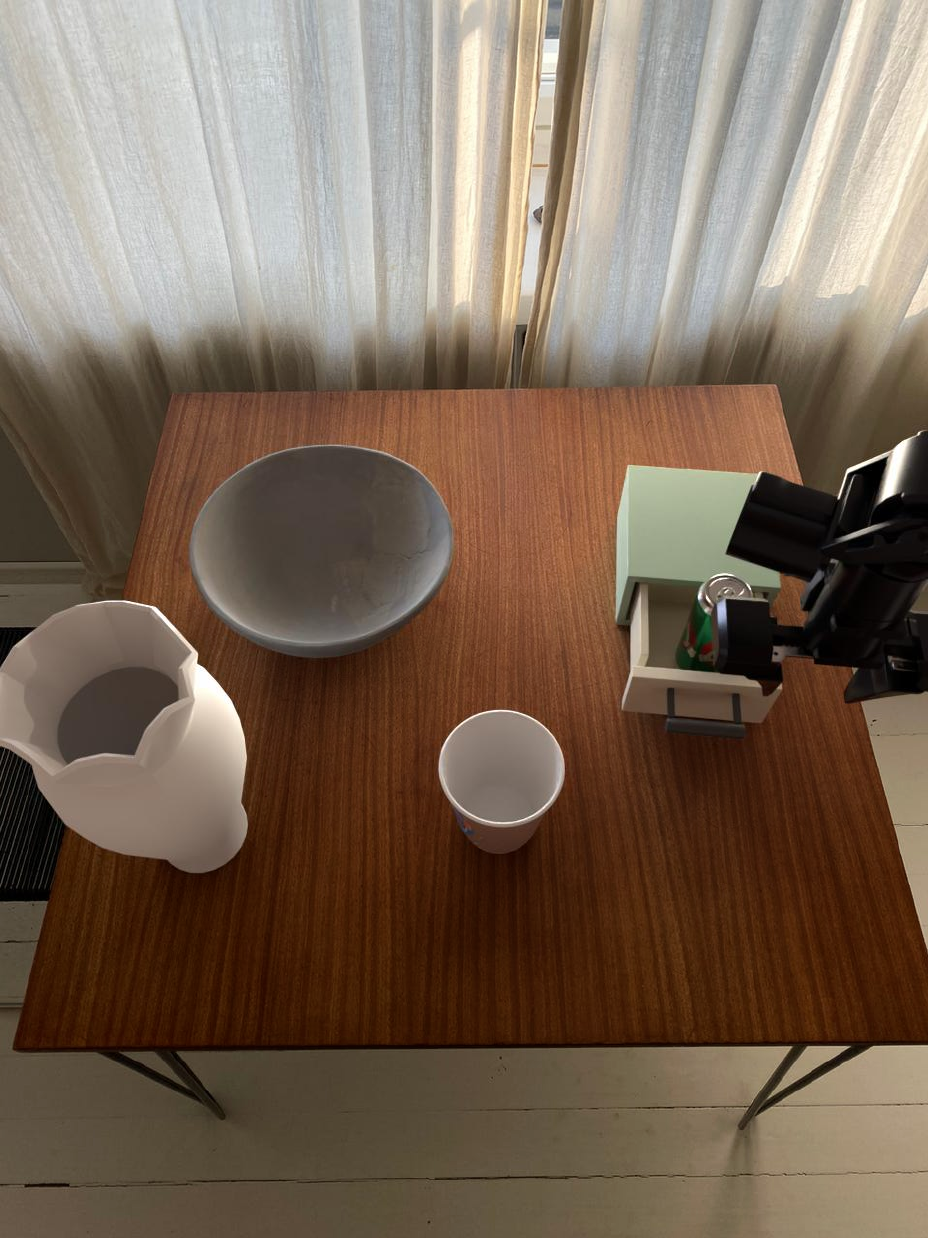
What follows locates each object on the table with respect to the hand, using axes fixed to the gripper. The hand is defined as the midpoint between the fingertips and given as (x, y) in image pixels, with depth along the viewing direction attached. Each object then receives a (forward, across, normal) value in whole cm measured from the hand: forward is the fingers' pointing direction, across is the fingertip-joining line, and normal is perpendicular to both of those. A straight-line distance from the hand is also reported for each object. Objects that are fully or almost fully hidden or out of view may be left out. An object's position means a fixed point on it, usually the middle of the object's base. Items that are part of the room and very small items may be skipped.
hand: (804, 694), depth 74 cm
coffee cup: (+12, +25, +9) cm, 29 cm away
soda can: (+10, +7, -8) cm, 15 cm away
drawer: (+11, +7, -7) cm, 15 cm away
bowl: (+11, +46, -15) cm, 49 cm away
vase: (+12, +52, +14) cm, 55 cm away
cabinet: (+12, +8, -21) cm, 25 cm away
